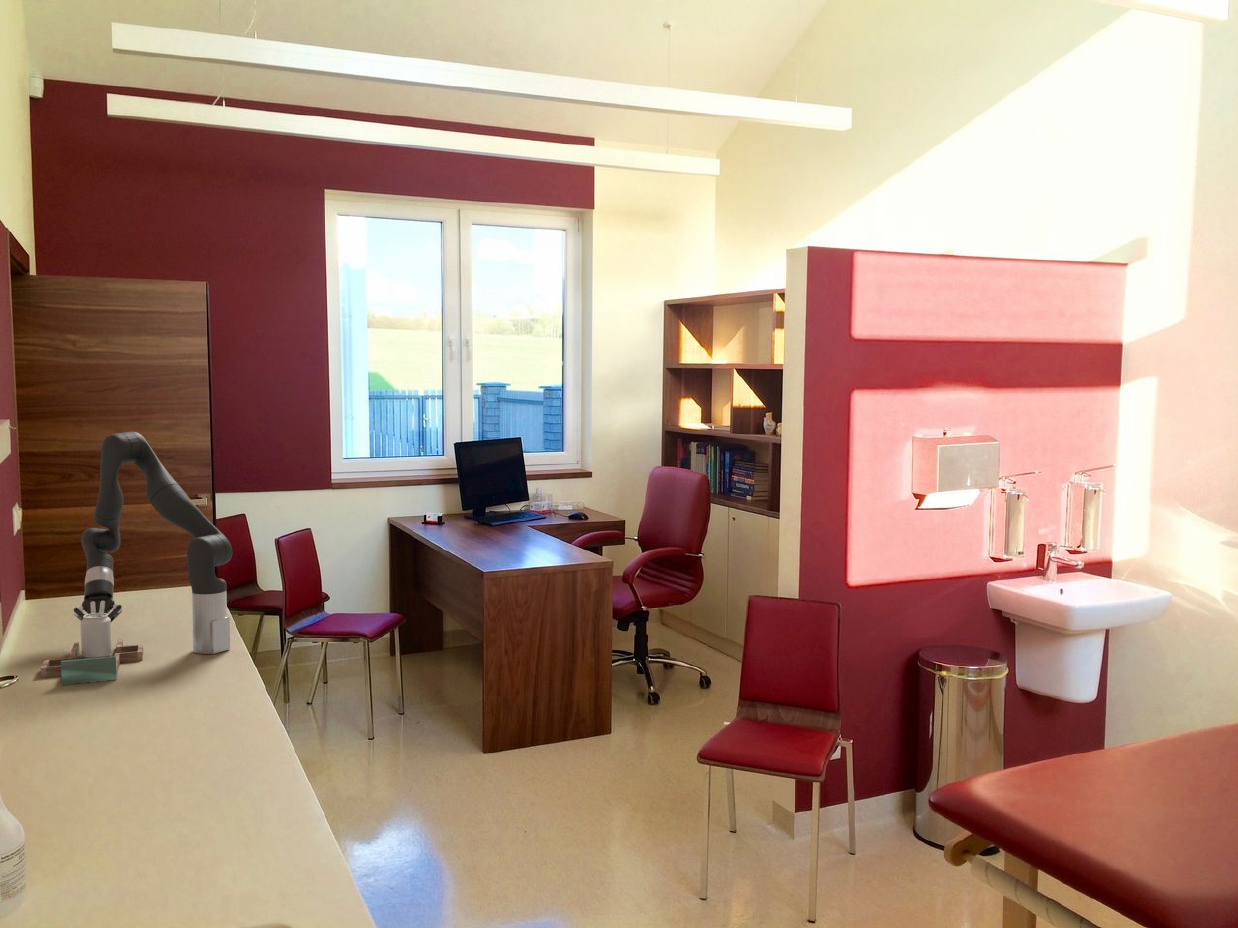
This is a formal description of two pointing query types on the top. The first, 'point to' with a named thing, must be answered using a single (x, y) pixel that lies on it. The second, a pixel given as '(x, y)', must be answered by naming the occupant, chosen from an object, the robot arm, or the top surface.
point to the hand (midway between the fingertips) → (97, 636)
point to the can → (96, 635)
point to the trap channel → (91, 665)
